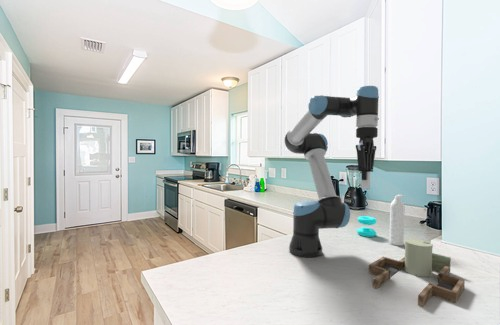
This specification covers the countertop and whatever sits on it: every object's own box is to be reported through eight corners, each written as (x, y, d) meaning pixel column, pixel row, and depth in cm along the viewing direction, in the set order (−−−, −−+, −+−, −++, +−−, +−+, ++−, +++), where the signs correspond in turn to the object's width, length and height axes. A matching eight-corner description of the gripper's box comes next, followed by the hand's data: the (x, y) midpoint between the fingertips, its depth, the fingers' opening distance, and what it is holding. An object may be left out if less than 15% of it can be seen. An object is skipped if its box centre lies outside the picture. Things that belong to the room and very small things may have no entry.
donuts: (366, 220, 140) (353, 216, 150) (366, 238, 140) (353, 233, 150) (380, 219, 143) (367, 215, 153) (380, 236, 144) (366, 231, 153)
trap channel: (447, 316, 71) (448, 295, 71) (356, 280, 91) (356, 264, 91) (470, 278, 94) (471, 262, 94) (393, 256, 114) (393, 243, 114)
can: (438, 277, 95) (438, 245, 94) (412, 276, 95) (413, 244, 95) (422, 266, 104) (423, 237, 104) (399, 266, 104) (400, 237, 104)
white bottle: (401, 246, 127) (402, 197, 127) (387, 243, 132) (388, 195, 131) (406, 242, 133) (407, 195, 133) (392, 239, 138) (394, 194, 138)
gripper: (369, 125, 91) (367, 190, 91) (383, 128, 99) (382, 188, 100) (349, 126, 96) (347, 188, 97) (364, 129, 105) (363, 186, 105)
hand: (365, 188), depth 98 cm, fingers closed
